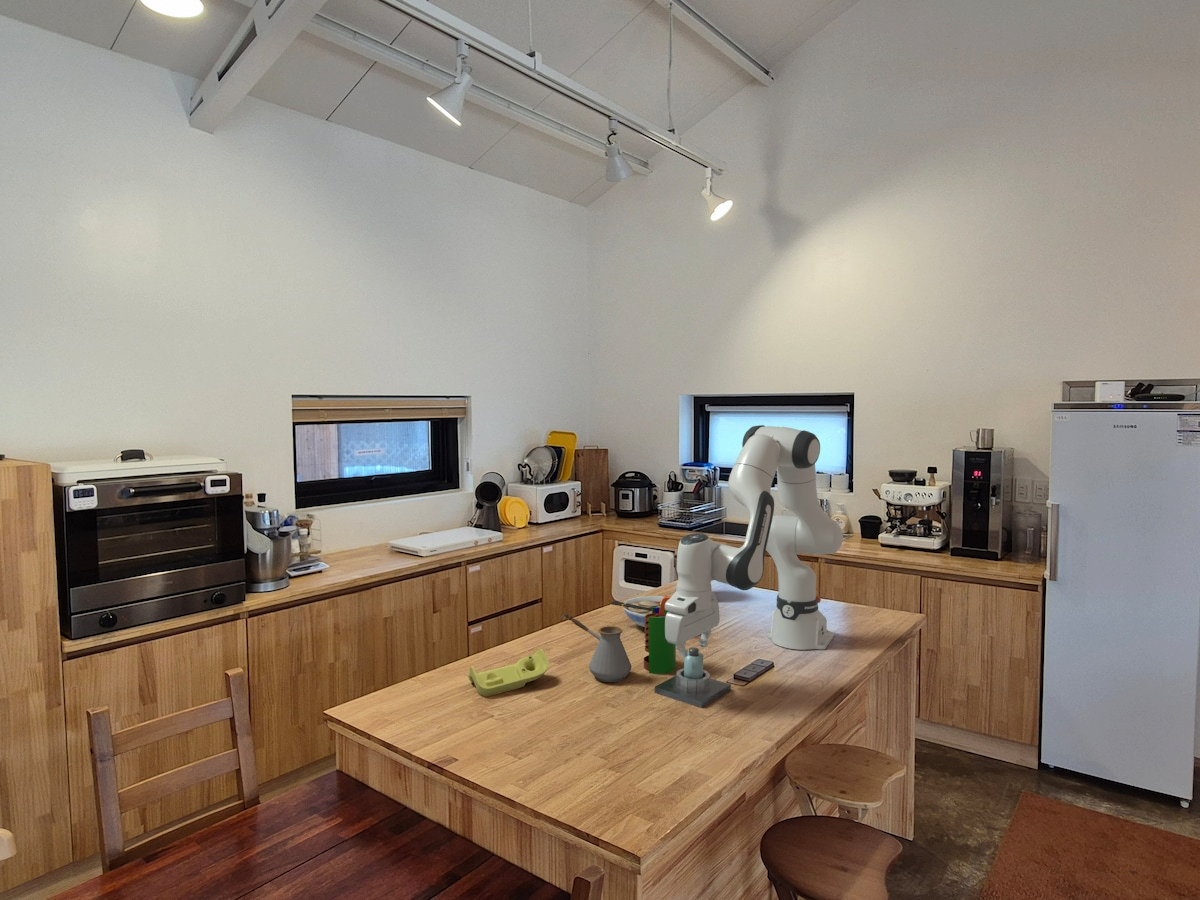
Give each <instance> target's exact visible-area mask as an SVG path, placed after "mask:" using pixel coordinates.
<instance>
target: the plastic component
mask: <svg viewBox="0 0 1200 900" xmlns="http://www.w3.org/2000/svg"><path fill="white" fill-rule="evenodd" d="M548 658H549V657H547V654H546V653H545V651H544V649H542V648H539V649H538V650H536V651H535V652H534V653H533V654H532V655H531V654H530V655H528V656H525V657H522V658H520V659H519V660H517V662H516V663H513V664H509V665H506V666H501V667H498V668H497V667H496V668H494V669H489V670H486V671H481V672H476V669H475V667H474V666H473V665H472V666H470V667H469V672H468V679H469V681H470V682H471V683H473V684H474V685H475V687H476V690H477V692H478V693H479V695H481V696H482V697H490V696H496V695H498V694H502V693H506V692H510V691H513V690H517V689H521V688H524V687H525V686H526V683H530V682H534V681H535V680H537V679H539V678H541V677H542V676H544V675H545V673H546V672H547V671H548V669H549V666H550V660H549V659H548Z"/></svg>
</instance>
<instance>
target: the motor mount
mask: <svg viewBox="0 0 1200 900" xmlns="http://www.w3.org/2000/svg"><path fill="white" fill-rule="evenodd" d="M710 677H711V675H710V673H709V672H708V671H707V670H705V669H703V678H701V679H688V678H685V677H684V668H681V669H679V670H676V674H675V676H673V677H671V678H669V679H667V680H665V681H663V682H661V683H659V684H658V685H655V686H654V694H658V695H661V696H665V697H666V698H671V699H673V700H677V701H679V702H683V703H686V704H689V705H692V706H694V707H698V708H701V709H702V708H704V707H705V706H707V705H709V704H711V703H712V702H714V701H716V700H717V699H719V698H721V697H722V696H724V695H725V694H727V693H729V692H730V691H731V689H732V688H731V687H732V684H731V683H727V682H725V681H720V680H717V679H714V678H710Z"/></svg>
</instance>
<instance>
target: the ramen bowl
mask: <svg viewBox="0 0 1200 900" xmlns="http://www.w3.org/2000/svg"><path fill="white" fill-rule="evenodd" d="M665 596H666V595H665ZM665 596H662V595H643V596H637V597H636V596H635V597H633V598H630V599H626V600H625V601H618V600H614V601H611V605H613V606H620V607H622V608H623V611H624V613H625V614H626V616H627V617H628V618H629V620H630V621H631V622H633V623H635V624H637V625H638V626H640V627H644V628H645V615H647V614H651V613H652V607H660V605H661V601H662V599H663V597H665Z"/></svg>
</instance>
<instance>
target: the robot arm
mask: <svg viewBox="0 0 1200 900" xmlns="http://www.w3.org/2000/svg"><path fill="white" fill-rule="evenodd" d="M741 444H742V449H741V450H740V452H739V453H738V456H737V457H736V460H735V462H734V465H733V466H732V468H731V472H730V473H729V477H728V481H727V484H728V489H729V491H730V494H731V496H732V497H733V498H734V499H735V500H736V502H738V503H740V504H741V505H742V506H744V507H745V508H746V509H747V510H748V512H749V522H748V526H747V530H746V535H745V540H744V542H743V544H742V546H741V547H737V546H732V545H727V544H726V543H725V544H724V543H720V542H718V541H714V540H713V539H711V538H710V536H708V535H707V534H704V533H690V534H687V535H685V536H683V537H681V539H680V540H679V543H678V547H677V551H676V552H677V553H676V555H677V573H678V580H677V582H676V589H675V590H676V591H675V592H674V593H673V594H672V595H671V596H670V597H671V598H670V599H669V600H668V601H667V602H666V603H665V610H666V611H668V612H667V614H666V618H665V638H666V640H667V642H669V643H672V644H676V649H677V651H678V657H679V658H681V659H684V658H685V657H687V656H688V654H687V653H688V652H689V649H686V644H687V641H690V640H691V639H694V638H695V637H697V636H699V635H701V636H700V639H699V640H698V646H699V647H700V648H706V647H707V646H708V644H709V642H708V641H709V638H710V635H711V632H712V631H711V630H712V629H714V628H716V627H718V626H719V623H720V605H719V601H718V600H717V594H715V592H714V591H712V587H713V586H712V581H716V582H719V583H722V584H725V585H729V586H731V587H734V588H736V589H739V590H741V591H748V590H751V589H752V588H754V587H755V586H757V585H758V583H760V582H761V580H762V578H763V576H764V569H765V555H766V552H767V553H768V554H769V555H770V556H771V557H770V558H772V560H773V562H774V565H775V566H776V571H777V583H778V585H777V586H778V594H777V595H776V599H775V600H776V601H775V603H776V609H775V610H773V611H772V618H771V629H770V631H769V632H767V634H766V636H767V637H768V638H769V639H770V640H771V641H772V643H773V644H775V645H777V646H779V647H781V648H785V649H791V650H801V651H803V650H804V651H805V650H826V649H827V648H828V646H829V645H830V643H831V642H832V640H833V639H834V637H835V632H833V631H831V630H828V627H827V626H828V625H827V624H828V623H827V617H826V616H825V615H824V614H822V612H821V611H820V610H819V604H820V603H821V601H822V598H821V596H820V595H817V575H816V573H815V571H814V570H813V569H812V568H811V567H810V566H809V565H808V564H805V563H804V562H802V561H801V559H799V558H798V555H797V554H807V555H808V554H809V555H817V556H821V555H831V554H832V555H833V554H835V553H837V552H838V551H839V550H840V549H841V546H842V544H843V543H844V542H843V541H844V533H843V530H842V528H841V526H840V524H839V523H838V522H837V521H835V520H834V519H832V518H831V517H830V516H829V515H828V514H827V513H826V512H825V511H824V509H823V507H822V506H821V504H820V501H819V498H818V492H817V491H818V489H817V477H816V476H817V475H816V473H817V472H816V463H817V461H818V459H819V457H820V453H821V443H820V440H819V439H818V436H817V435H816V434H815V433H813V432H810V431H808V430H800V429H797V428H792V427H786V426H772V425H771V426H766V425H763V424H762V425H760V424H759V425H753V426H751V427H750V428H749V429H748V430H747V431H746V432H745V433H744V435H743V438H742V443H741ZM775 476H776V479H777V498H778V501H779V502H780V504H781V505H782V506H783V507H784V508H785V509H786V510H788V511H790V512H791V513H793V514H794V515H795V516H794V515H793V516H792V515H782V514H781V515H780V514H776V515H774V511H775V499H774V497H773V496H772V494H771V488H772V485H773V481H774V478H775Z"/></svg>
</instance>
